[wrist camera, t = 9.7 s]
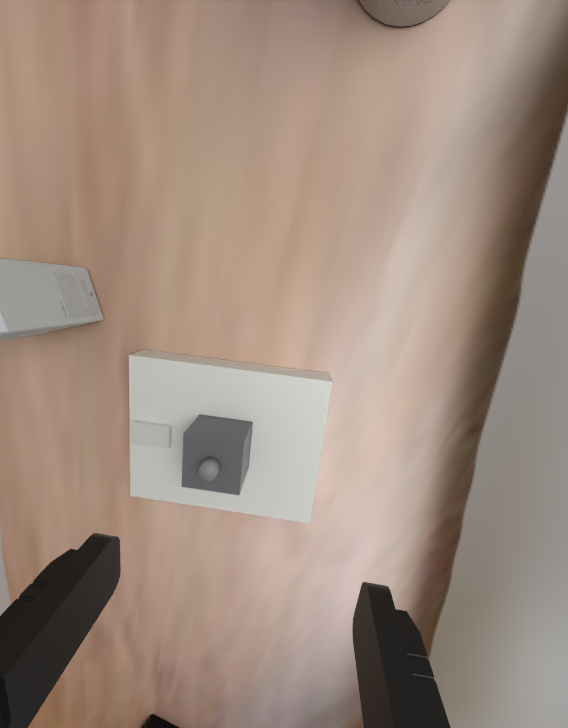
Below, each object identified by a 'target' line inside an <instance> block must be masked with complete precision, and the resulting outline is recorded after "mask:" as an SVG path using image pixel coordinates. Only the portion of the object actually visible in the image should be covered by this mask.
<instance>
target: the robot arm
mask: <svg viewBox="0 0 568 728" xmlns="http://www.w3.org/2000/svg"><path fill="white" fill-rule="evenodd" d="M449 1H450V0H359V2H360V3H361V4H362V6H363V7H364V9H365V10H366V11H367V12H368V13H369V14H370V15H371V16H373V17H374V18H375V19H377V20H379V21H381V22H382V23H384V24H387V25H392V26H397V27H400V26H411V25H415V24H418V23H421V22H423V21H425V20H427V19H429V18H431V17H432V16H434V15H435V14H437V13H438V12H439V11H440V10H441V9H442V8H443V7H445V6H446V5H447V3H448V2H449ZM119 577H120V540H119V538H118V537H115V536H110V535H104V534H99V533H94V534H92V535H91V536H90V537H89V538H88V539H87V540H86V541H85V542H84V544H83V545H82V546H81V547H80V548H79V549H78V550H73V549H70V550H68V551H67V552H65V553H64V554H62V555H61V556H59V557H58V558H56V559H55V560H54V561H52V562H51V563H50V564H49V565H48V566H47V567H46V568H45V569H44V570H43V571H42V572H41V573H40V574H39V575H38V576H37V577H36V579H35V580H34V582H33V583H32V584H30V585H29V586H28V587H27V588H26V589H25V590H24V591H23V592H22V593H21V595H20V597H19V598H18V599H16V600H15V601H14V602H13V603H12V604H11V605H10V606H9V607H8V608H7V609H6V611H5V612H4V613H3V614H2V615H1V616H0V728H28V726H29V725H30V723H31V721H32V720H33V718H34V717H35V715H36V714H37V712H38V710H39V709H40V707H41V706H42V704H43V703H44V701H45V700H46V698H47V696H48V695H49V693H50V692H51V690H52V689H53V687H54V685H55V684H56V682H57V681H58V679H59V678H60V676H61V674H62V673H63V671H64V670H65V668H66V667H67V665H68V663H69V662H70V660H71V659H72V657H73V656H74V654H75V653H76V651H77V649H78V648H79V646H80V645H81V643H82V642H83V640H84V638H85V637H86V635H87V634H88V632H89V631H90V629H91V627H92V626H93V624H94V623H95V621H96V620H97V618H98V616H99V615H100V613H101V612H102V610H103V609H104V607H105V606H106V604H107V602H108V601H109V599H110V598H111V596H112V594H113V593H114V591H115V589H116V586H117V584H118V581H119ZM353 644H354V652H355V660H356V668H357V676H358V684H359V692H360V700H361V708H362V716H363V724H364V728H450V725H449V722H448V719H447V715H446V712H445V709H444V706H443V703H442V700H441V697H440V694H439V691H438V687H437V684H436V682H435V681H434V675H433V672H432V669H431V666H430V662H429V661H428V659H427V653H426V650H425V647H424V644H423V641H422V638H421V634H420V632H419V630H418V629H417V627H416V625H415V624H414V622H413V621H412V619H411V618H410V616H409V614H408V613H407V611H402V610H397V609H395V606H394V602H393V599H392V595H391V592H390V589H389V587H388V586H384V585H378V584H373V583H367V582H363V583H362V586H361V590H360V594H359V598H358V601H357V605H356V609H355V613H354V618H353Z"/></svg>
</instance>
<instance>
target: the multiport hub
mask: <svg viewBox="0 0 568 728" xmlns="http://www.w3.org/2000/svg"><path fill="white" fill-rule="evenodd" d="M141 728H179V727H177V726H175V725H173V724H171V723H169V722H168V721H166V720H164V719H162V718H160V717H158V716H156V715H154V714H151V715H150V716H149V718H148V719H147V720H146V722H145V723H144V724H143V726H142V727H141Z"/></svg>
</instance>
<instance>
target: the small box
mask: <svg viewBox="0 0 568 728" xmlns="http://www.w3.org/2000/svg"><path fill="white" fill-rule="evenodd" d="M102 320H104V318H103V315H102V312H101V309H100V306H99V303H98V300H97V297H96V294H95V291H94V288H93V285H92V282H91V279H90V276H89V273H88V270H87V268H85V267H77V266H69V265H60V264H51V263H42V262H33V261H25V260H16V259H7V258H0V340H5V339H12V338H19V337H25V336H32V335H38V334H43V333H47V332H52V331H56V330H61V329H65V328H70V327H74V326H79V325H83V324H88V323H92V322H97V321H102Z"/></svg>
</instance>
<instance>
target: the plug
mask: <svg viewBox="0 0 568 728" xmlns="http://www.w3.org/2000/svg"><path fill="white" fill-rule="evenodd" d="M252 426H253V422H251V421H244V420H237V419H229V418H222V417H215V416H208V415H201V414H200V415H199V416H198V417H197V419H196V420H195V421H194V422H193V423H192V424H191V425H190V426H189V428H188V429H187V430H186V431H185V432H184V433H183V458H182V486H181V487H186V488H193V489H200V490H206V491H213V492H220V493H226V494H233V495H240V492H241V489H242V486H243V483H244V480H245V477H246V474H247V471H248V468H249V457H250V447H251V437H252Z"/></svg>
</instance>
